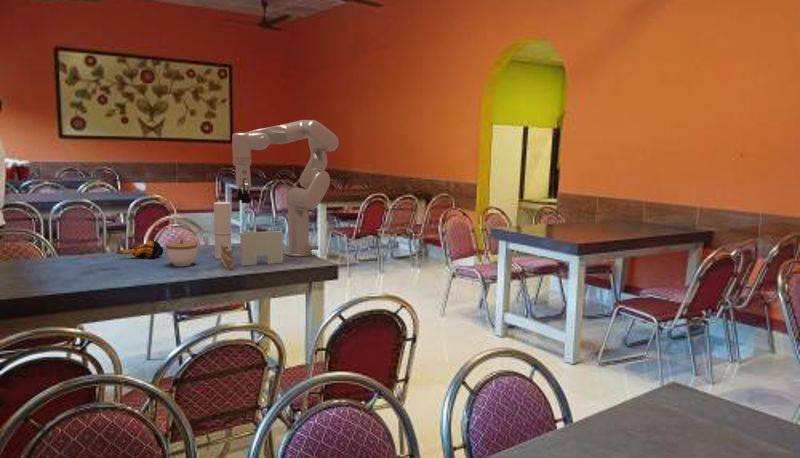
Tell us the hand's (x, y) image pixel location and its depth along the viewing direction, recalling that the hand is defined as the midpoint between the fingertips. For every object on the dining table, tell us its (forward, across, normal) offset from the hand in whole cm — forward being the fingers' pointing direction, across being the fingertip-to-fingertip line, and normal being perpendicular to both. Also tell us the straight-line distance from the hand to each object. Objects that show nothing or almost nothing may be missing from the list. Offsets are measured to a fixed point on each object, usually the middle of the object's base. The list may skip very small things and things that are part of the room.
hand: (243, 201), depth 265 cm
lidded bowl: (+27, +4, +26) cm, 38 cm away
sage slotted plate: (+27, -4, -6) cm, 28 cm away
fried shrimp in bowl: (+27, +23, +42) cm, 55 cm away
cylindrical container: (+27, +15, +7) cm, 32 cm away
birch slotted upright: (+27, -5, +9) cm, 29 cm away
